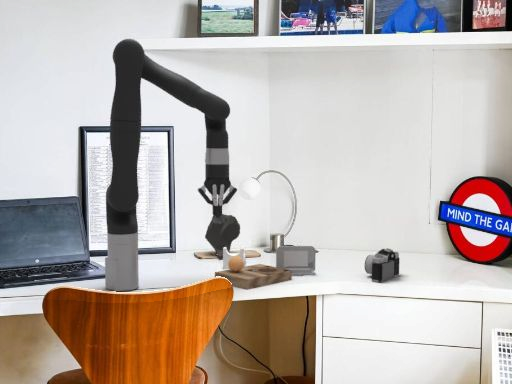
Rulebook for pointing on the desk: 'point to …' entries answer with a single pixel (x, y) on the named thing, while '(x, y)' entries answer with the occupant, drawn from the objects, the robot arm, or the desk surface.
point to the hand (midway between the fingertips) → (217, 217)
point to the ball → (235, 263)
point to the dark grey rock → (222, 233)
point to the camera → (383, 265)
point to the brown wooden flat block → (256, 276)
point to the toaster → (296, 259)
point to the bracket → (229, 255)
